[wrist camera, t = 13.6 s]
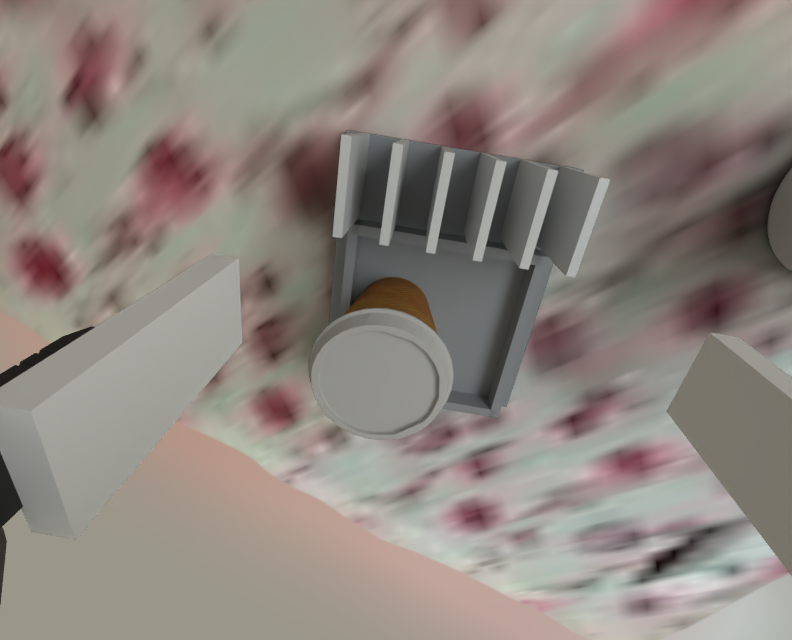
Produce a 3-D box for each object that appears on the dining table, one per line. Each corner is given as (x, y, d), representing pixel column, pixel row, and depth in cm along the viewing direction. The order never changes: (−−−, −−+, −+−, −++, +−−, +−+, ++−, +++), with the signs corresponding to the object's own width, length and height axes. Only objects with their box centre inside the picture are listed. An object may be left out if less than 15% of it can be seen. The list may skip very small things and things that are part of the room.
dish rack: (503, 397, 42) (523, 468, 33) (327, 367, 42) (300, 429, 33) (577, 168, 32) (631, 182, 24) (349, 130, 32) (320, 130, 24)
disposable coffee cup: (345, 356, 39) (312, 443, 28) (336, 259, 35) (293, 317, 24) (446, 357, 38) (452, 447, 28) (448, 257, 34) (456, 317, 24)
